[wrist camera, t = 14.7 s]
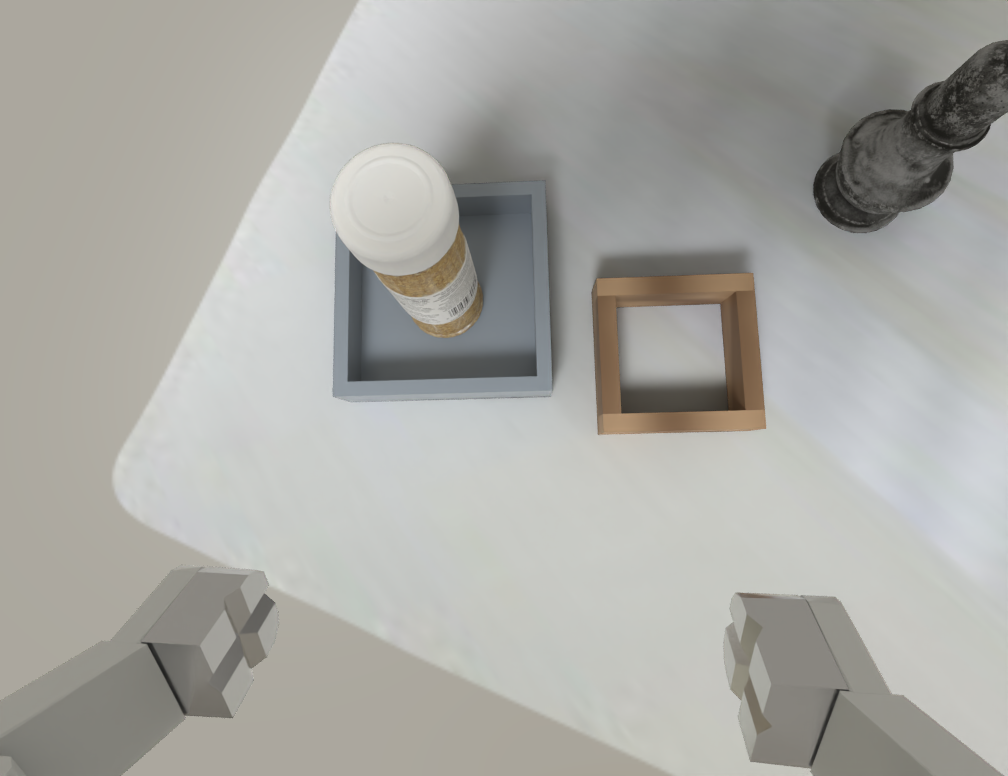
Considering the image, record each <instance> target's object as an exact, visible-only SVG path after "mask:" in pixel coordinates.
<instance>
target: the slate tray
mask: <svg viewBox="0 0 1008 776" xmlns="http://www.w3.org/2000/svg"><path fill="white" fill-rule="evenodd" d="M452 188H453V191H454V194H455V197H456V200H457V204H458V210H459V225H460V228H461V231H462V233H463V235H464V236H465V238H466V241H467V244H468V248H469V251H470V254H471V258H472V261H473V265H474V268H475V271H476V275H477V281H478V282H479V284H480V287H481V290H482V293H483V307H482V311H481V313H480V316H479V318H478V320H477V321H476V322H475V323H474V325H473V326H472V327H471V328H470V329H468V330H467V331H466V332H465V333H463V334H461V335H458V336H455V337H449V338H437V337H434V336H432V335H429V334H427V333H425V332H424V331H423V330H421V329H420V328H419V326H418V325H417V324H416V323H415V322H414V321H413V319H412V317H411V315H409V314H408V313H407V312H406V311H405V309H404V308H403V307H402V306H401V305H400V303H399V302H398V301H397V300H396V299H395V297H394V296H393V295H392V294H391V293H390V292H389V290H388V289H387V288H386V287H385V286H384V285H383V283H382V282H381V281H380V280H379V278H378V277H377V275H376V274H375V272H374V271H373V270H372V269H370V268H368V267H366V266H365V265H364V264H362V263H361V262H360V261H359V260H358V259H357V258H356V257H355V256H354V255H353V254H352V253H351V251H350V250H349V249H348V248H347V247H346V245H345V244H344V243H343V242H342V240H341V239H340V237H339V236H338V234H337V232H336V249H335V304H334V359H333V397H336V398H339V399H342V400H345V401H348V402H376V401H413V400H449V399H485V398H522V397H550V396H551V393H552V362H551V332H550V303H549V274H548V244H547V215H546V185H545V180H541V181H518V182H496V183H474V184H452Z"/></svg>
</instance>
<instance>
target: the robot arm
mask: <svg viewBox="0 0 1008 776" xmlns="http://www.w3.org/2000/svg"><path fill="white" fill-rule="evenodd" d="M268 586H269V583H268V581H267V578H266V576H265V573H264V572H263V571H258V570H249V569H236V568H223V567H210V566H206V567H205V566H190V565H180V566H179V567H177V568H175V569H173V570H171V571H170V573H169V574H168V575H167V576H166V577H165V578H164V579H163V581H162V582H161V583H160V584H159V585H158V586H157V588H156V589H155V590H154V591H153V592H152V593H151V594H150V596H149V597H148V598H147V599H146V600H145V601H144V603H143V604H142V605H141V606H140V607H139V608H138V610H137V611H136V612H135V613H134V614H133V615H132V616H131V618H130V619H129V620H128V621H127V622H126V623H125V625H124V626H123V627H122V628H121V629H120V630H119V632H118V633H117V634H116V635H115V636H114V637H113V638H112V639H111V641H101V642H99V643H97V644H96V645H94V646H92V647H90V648H89V649H87V650H85V651H84V652H82V653H80V654H79V655H77V656H75V657H74V658H72V659H70V660H68V661H67V662H65V663H63V664H62V665H60V666H58V667H57V668H55V669H53V670H52V671H50V672H48V673H46V674H45V675H43V676H41V677H39V678H38V679H36V680H35V681H33V682H31V683H29V684H28V685H26V686H24V687H22V688H21V689H19V690H17V691H16V692H14V693H12V694H11V695H9V696H7V697H5V698H4V699H2V700H0V776H121V775H122V774H123V773H125V772H126V771H127V770H128V769H129V768H130V767H131V766H133V765H134V764H135V763H136V762H137V761H138V760H139V759H141V758H142V757H143V756H144V755H145V754H146V753H147V752H148V751H150V750H151V749H152V748H153V747H154V746H155V745H156V744H157V743H159V742H160V741H161V740H162V739H163V738H164V737H166V736H167V735H168V734H169V733H170V732H171V731H172V730H173V729H175V728H176V727H177V726H178V725H179V724H180V723H181V722H183V721H184V720H185V716H203V717H221V718H233V717H234V715H235V714H236V712H237V710H238V708H239V706H240V705H241V703H242V701H243V699H244V697H245V696H246V694H247V692H248V690H249V688H250V687H251V685H252V683H253V681H254V679H253V672H252V668H253V667H254V666H256V665H257V664H258V663H260V662H261V661H262V660H263V659H265V658H266V657H267V656H268V654H269V652H270V650H271V648H272V646H273V644H274V642H275V639H276V635H277V630H278V626H279V615H278V610H277V606H276V604H275V602H274V601H273V600H272V599H270V598H269V597H268V596H267V595H266V594H265V591H266V589H267V588H268ZM730 612H731V616H732V619H733V623H731V624H730V625H729V626H728V627H726V629H725V636H724V642H723V644H724V663H725V669H726V675H727V679H728V682H729V686H730V690H731V691H732V692H733V693H734V694H735V695H736V696H737V697H738V698H739V699H740V700H741V705H740V709H739V714H738V720H739V723H740V727H741V730H742V734H743V738H744V741H745V745H746V748H747V752H748V756H749V759H750V762H758V763H767V764H775V765H784V766H793V767H802V768H811V771H810V772H811V773H812V774H813V776H1004V775H1002V774H1001V773H1000V772H999V771H997V770H996V769H995V768H994V767H992V766H991V765H990V764H989V763H987V762H986V761H985V760H984V759H982V758H981V757H980V756H979V755H977V754H976V753H975V752H974V751H972V750H971V749H970V748H969V747H967V746H966V745H965V744H964V743H962V742H961V741H960V740H959V739H957V738H956V737H955V736H954V735H952V734H951V733H950V732H949V731H947V730H946V729H945V728H944V727H942V726H941V725H940V724H939V723H937V722H936V721H935V720H934V719H932V718H931V717H930V716H929V715H927V714H926V713H925V712H924V711H922V710H921V709H920V708H919V707H917V706H916V705H915V704H914V703H912V702H911V701H910V700H909V699H907V698H906V697H905V696H904V695H895V694H892V693H891V691H890V690H889V688H888V686H887V684H886V682H885V680H884V679H883V677H882V675H881V673H880V671H879V670H878V668H877V666H876V664H875V662H874V661H873V659H872V657H871V655H870V653H869V651H868V650H867V648H866V646H865V644H864V642H863V641H862V639H861V637H860V635H859V633H858V632H857V630H856V628H855V626H854V624H853V622H852V621H851V619H850V617H849V615H848V613H847V612H846V610H845V608H844V606H843V604H842V603H841V602H840V601H839V600H838V599H837V598H836V597H828V596H805V595H801V596H798V595H786V594H760V593H735V594H734V595H733V597H732V599H731V604H730Z"/></svg>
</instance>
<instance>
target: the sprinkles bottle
mask: <svg viewBox="0 0 1008 776" xmlns="http://www.w3.org/2000/svg"><path fill="white" fill-rule="evenodd" d="M330 213H331V219H332V223H333V225H334V228H335V230H336V232H337V234H338V236H339V237H340V239H341V240H342V242H343V243H344V244H345V245H346V247H347V248H348V249H349V250H350V251H351V253H352V254H353V255H354V256H355V257H356V258H357V259H358V260H359V261H360V262H361V263H362V264H364V265H365V266H366V267H368V268H370V269H372V270H373V271H374V272H375V274H376V275H377V277H378V278H379V280H380V281H381V282H382V283H383V285H384V286H385V287H386V288H387V289H388V290H389V292H390V293H391V294H392V295H393V296H394V297H395V299H396V300H397V301H398V302H399V303H400V305H401V306H402V307H403V308H404V309H405V311H406V312H407V313H408V314H409V315H411V317H412V319H413V321H414V322H415V323H416V324H417V325H418V326H419V328H420V329H421V330H423V331H424V332H425V333H427V334H429V335H432V336H434V337H437V338H449V337H455V336H458V335H461V334H463V333H465V332H466V331H467V330H468V329H470V328H471V327H472V326H473V325H474V323H475V322H476V321H477V320H478V318H479V316H480V313H481V311H482V307H483V293H482V290H481V287H480V284H479V282H478V281H477V275H476V271H475V268H474V265H473V261H472V258H471V254H470V251H469V248H468V244H467V241H466V238H465V236H464V235H463V233H462V231H461V228H460V225H459V210H458V204H457V200H456V197H455V194H454V191H453V188H452V185H451V183H450V180H449V178H448V176H447V174H446V172H445V170H444V169H443V167H442V166H441V165H440V164H439V162H438V161H436V160H435V159H434V158H433V157H432V156H431V155H429V154H428V153H427V152H425V151H423V150H421V149H419V148H417V147H414V146H412V145H407V144H401V143H386V144H380V145H376V146H373V147H370V148H368V149H366V150H364V151H362V152H360V153H358V154H357V155H356V156H354V157H353V158H352V159H351V160H350V161H349V162H348V163H347V164H346V165H345V166H344V167H343V168H342V170H341V171H340V173H339V174H338V176H337V178H336V180H335V182H334V185H333V188H332V192H331V196H330Z"/></svg>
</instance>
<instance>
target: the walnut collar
mask: <svg viewBox="0 0 1008 776" xmlns="http://www.w3.org/2000/svg"><path fill="white" fill-rule="evenodd" d="M699 304H721V318H722V331H723V344H724V357H725V370H726V384H727V397H728V410H729V411H701V412H662V413H624V414H621V394H620V374H619V354H618V334H617V314H616V307H640V306H670V305H699ZM592 311H593V334H594V356H595V379H596V401H597V424H598V435H599V434H640V433H681V432H722V431H751V430H759V429H766V419H765V407H764V395H763V383H762V372H761V360H760V348H759V336H758V324H757V312H756V300H755V289H754V277H753V273H735V274H708V275H681V276H654V277H626V278H599V279H596V282H595V284H594V287H593V290H592Z"/></svg>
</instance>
